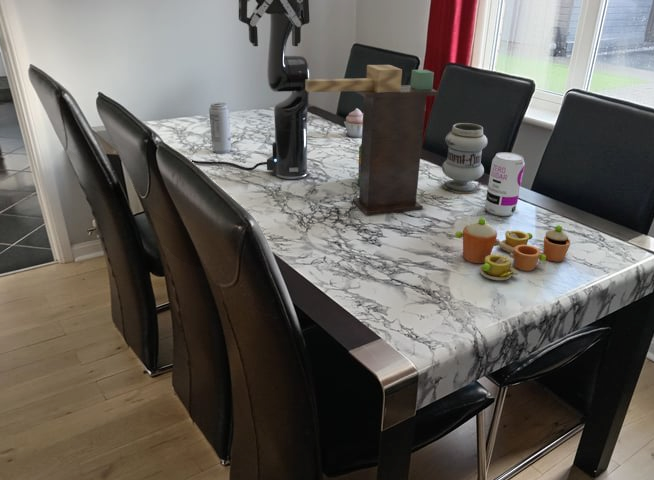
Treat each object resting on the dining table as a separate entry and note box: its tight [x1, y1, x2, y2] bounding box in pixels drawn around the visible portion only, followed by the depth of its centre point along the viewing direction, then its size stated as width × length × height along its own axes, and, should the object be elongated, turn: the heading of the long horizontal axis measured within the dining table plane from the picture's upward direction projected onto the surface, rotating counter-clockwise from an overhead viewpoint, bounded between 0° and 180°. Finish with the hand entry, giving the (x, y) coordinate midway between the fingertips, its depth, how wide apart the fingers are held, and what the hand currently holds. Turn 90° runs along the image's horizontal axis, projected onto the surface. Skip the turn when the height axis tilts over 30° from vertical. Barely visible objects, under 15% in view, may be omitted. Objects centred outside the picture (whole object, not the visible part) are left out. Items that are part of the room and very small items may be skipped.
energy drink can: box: [208, 102, 232, 154], centre depth 185 cm, size 6×6×15 cm
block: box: [410, 69, 435, 90], centre depth 141 cm, size 4×4×4 cm
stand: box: [352, 84, 439, 216], centre depth 147 cm, size 19×10×30 cm, turn 113°
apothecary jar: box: [441, 122, 488, 194], centre depth 165 cm, size 12×12×18 cm
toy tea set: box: [455, 217, 572, 281], centre depth 127 cm, size 26×16×10 cm, turn 122°
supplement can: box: [484, 151, 526, 217], centre depth 151 cm, size 8×8×15 cm
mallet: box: [305, 64, 403, 93], centre depth 134 cm, size 22×7×5 cm, turn 113°
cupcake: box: [343, 107, 363, 138], centre depth 212 cm, size 9×9×10 cm
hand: (275, 45), depth 121 cm, fingers open, 8 cm apart
